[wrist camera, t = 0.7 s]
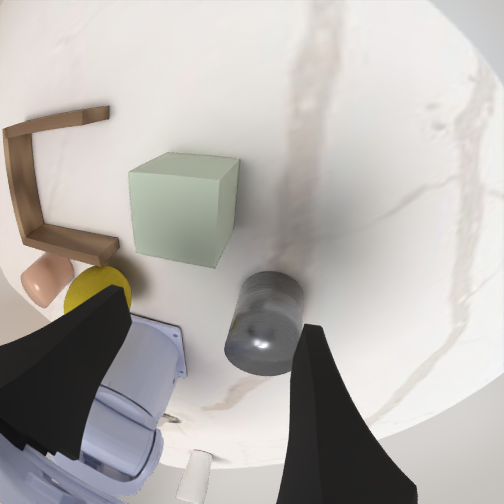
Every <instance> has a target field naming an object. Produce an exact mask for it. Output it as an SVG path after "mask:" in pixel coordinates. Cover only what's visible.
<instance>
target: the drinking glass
mask: <svg viewBox="0 0 504 504" xmlns="http://www.w3.org/2000/svg"><path fill="white" fill-rule="evenodd" d="M211 461H212V455H211V454H209V453H207V452H204V451H199V450H193V451H192V453H191V456H190V459H189V461H188V464H187V466H186V469H185V471H184V474H183V476H182V478H181V481H180V484H179V486H178V489H177V493H176V498H178V499H181V500H184V501H188V502H191V503H196V504H203V503H204V500H205V496H206V492H207V485H208V479H209V473H210V466H211Z"/></svg>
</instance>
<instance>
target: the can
mask: <svg viewBox="0 0 504 504" xmlns="http://www.w3.org/2000/svg"><path fill="white" fill-rule="evenodd" d="M302 307H303V295H302V290H301V288H300V286H299V285H298V283H297V282H296V281H295V280H294V279H292V278H291V277H289V276H287V275H285V274H283V273H279V272H273V271H266V272H260V273H257V274H254V275H252V276H251V277H249V278H248V279H247V280H246V281H245V282H244V284H243V286H242V289H241V292H240V295H239V299H238V302H237V306H236V309H235V313H234V316H233V319H232V323H231V326H230V330H229V333H228V336H227V340H226V343H225V348H224V351H225V355H226V357H227V358H228V360H229V361H230V362H231V363H232V364H233V365H234V366H236V367H237V368H239V369H241V370H243V371H245V372H248V373H251V374H254V375H260V376H276V375H281V374H285V373H287V372H289V371H291V370H292V362H293V356H294V353H295V350H296V347H297V344H298V341H299V339H300V336H301V333H302Z"/></svg>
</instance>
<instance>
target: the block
mask: <svg viewBox="0 0 504 504" xmlns="http://www.w3.org/2000/svg"><path fill="white" fill-rule="evenodd" d="M239 163H240V159H236V158H227V157H218V156H208V155H197V154H184V153H168V152H167V153H165V154H163V155H161V156H159V157H157V158H155V159H153V160H151V161H149V162H147V163H145V164H143V165H141V166H139V167H137V168H135V169H133V170H131V171H129V172H128V178H129V193H130V206H131V217H132V226H133V235H134V243H135V250H136V253H138V254H143V255H148V256H153V257H158V258H163V259H168V260H173V261H178V262H183V263H189V264H194V265H199V266H204V267H210V268H216V265H217V263H218V261H219V259H220V257H221V255H222V252H223V250H224V248H225V246H226V244H227V242H228V240H229V237H230V235H231V233H232V231H233V229H234V218H235V206H236V195H237V184H238V173H239Z"/></svg>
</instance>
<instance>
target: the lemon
mask: <svg viewBox="0 0 504 504" xmlns="http://www.w3.org/2000/svg"><path fill="white" fill-rule="evenodd" d="M111 284H113V285H116V286H120V287H123V288H124V292H125V296H126V300H127V304H128V308H129V309H130V306H131V298H132V294H131V289H130V286H129V283H128V281H127V279H126V278H125V276H124V275H123V274H122V273H121V272H120V271H118V270H117V269H115V268H113V267H110V266H107V265H102V266H101V267H99V266H93V267H90V268H88V269H86V270H85V271H83V272H82V273H81V274H80V275H79V276H78V277H77V278H76V279H75V280H74V281H73V283H72V284H71V286H70V287H69V289H68V291H67V294H66V297H65V300H64V314H66V313H68V312H69V311H71V310H72V309H74V308H75V307H77V306H78V305H80V304H81V303H83V302H85V301H86V300H88V299H89V298H91V297H92V296H94V295H95V294H97V293H98V292H100V291H101V290H103V289H104V288H106V287H108V286H110V285H111Z"/></svg>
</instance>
